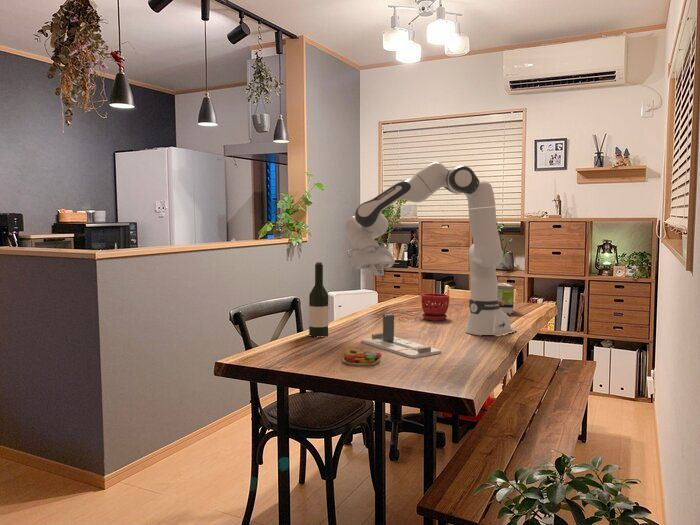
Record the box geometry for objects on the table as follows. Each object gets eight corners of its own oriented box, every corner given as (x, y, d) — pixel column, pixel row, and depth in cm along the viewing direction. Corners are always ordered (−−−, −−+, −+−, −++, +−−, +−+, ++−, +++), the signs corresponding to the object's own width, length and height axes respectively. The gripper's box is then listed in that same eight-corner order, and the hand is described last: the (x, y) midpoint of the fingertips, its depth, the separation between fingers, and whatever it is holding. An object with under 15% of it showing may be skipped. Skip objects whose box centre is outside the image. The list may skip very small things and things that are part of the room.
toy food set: (344, 356, 196) (344, 347, 196) (382, 358, 195) (382, 348, 194) (339, 366, 183) (339, 357, 183) (380, 368, 182) (380, 358, 181)
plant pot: (450, 321, 263) (451, 296, 262) (422, 321, 263) (423, 295, 262) (446, 316, 276) (447, 292, 275) (419, 316, 276) (420, 292, 275)
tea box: (513, 314, 283) (514, 285, 282) (494, 314, 284) (494, 285, 282) (506, 309, 298) (506, 282, 297) (487, 309, 299) (487, 282, 297)
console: (389, 337, 226) (389, 331, 226) (441, 353, 201) (441, 346, 201) (361, 341, 218) (361, 335, 218) (411, 358, 193) (411, 350, 193)
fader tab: (389, 339, 217) (389, 313, 217) (393, 340, 215) (394, 314, 214) (382, 340, 216) (383, 314, 215) (387, 341, 213) (387, 315, 212)
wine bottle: (331, 334, 232) (332, 262, 229) (324, 338, 224) (324, 263, 222) (313, 332, 235) (313, 261, 232) (305, 336, 227) (305, 262, 224)
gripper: (348, 244, 226) (362, 270, 218) (388, 243, 237) (402, 268, 230) (342, 254, 230) (355, 281, 223) (381, 253, 241) (395, 278, 234)
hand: (380, 274), depth 226 cm, fingers closed
